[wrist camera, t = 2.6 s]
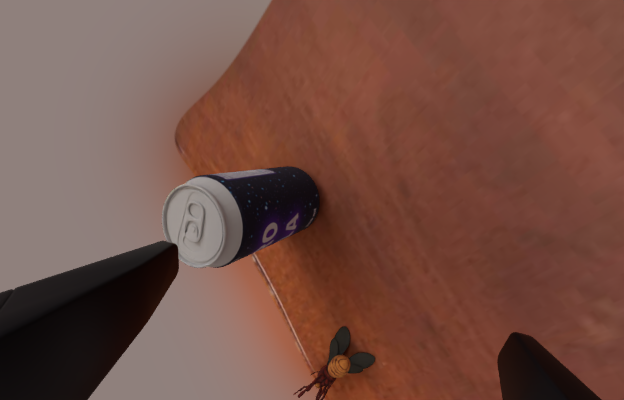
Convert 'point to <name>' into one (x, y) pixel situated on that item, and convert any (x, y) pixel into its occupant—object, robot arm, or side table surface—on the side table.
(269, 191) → the beverage can
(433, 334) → the side table surface
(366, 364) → the insect
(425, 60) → the side table surface
